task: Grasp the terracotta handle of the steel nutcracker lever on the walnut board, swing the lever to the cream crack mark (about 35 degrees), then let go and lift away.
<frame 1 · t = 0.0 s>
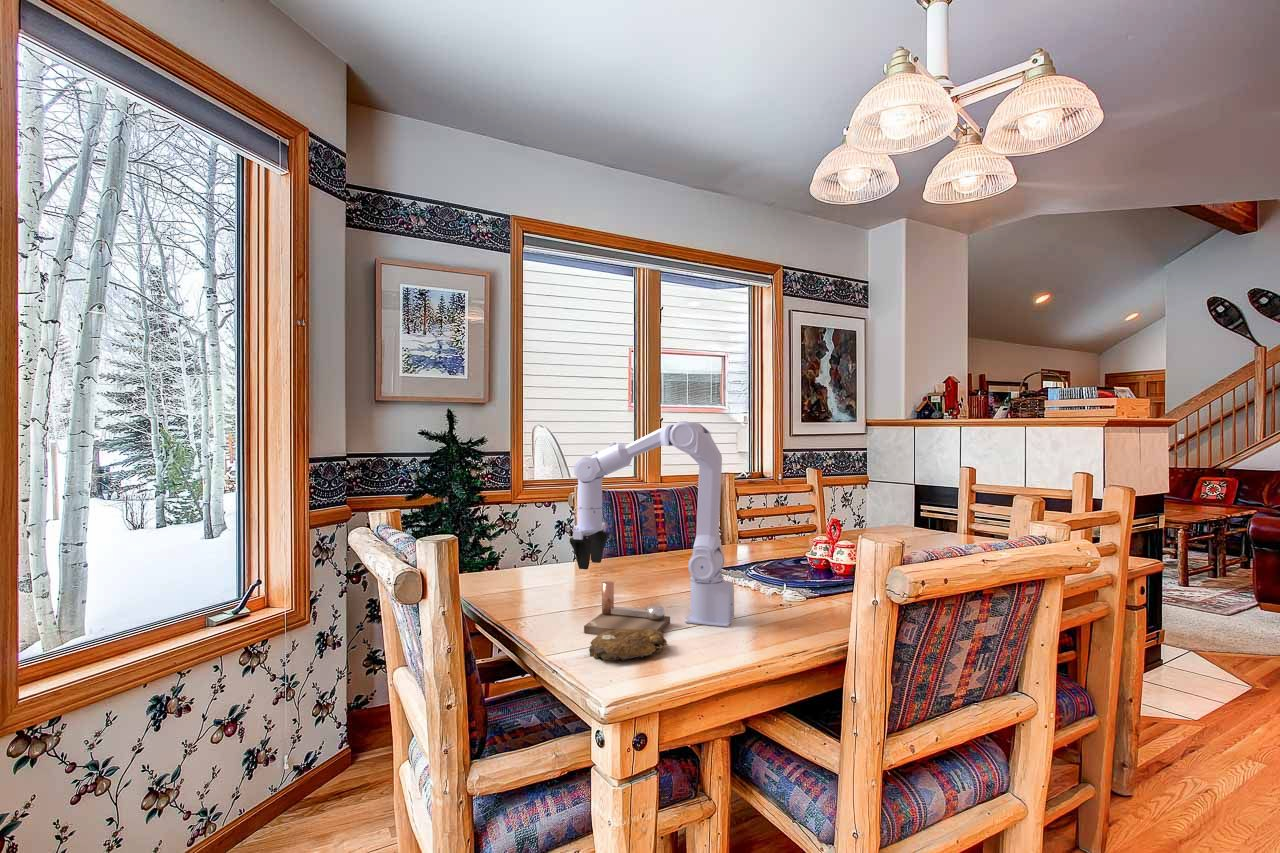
hand: (590, 565, 146), 10 cm above the table, tool pointing down, fingers open, 7 cm apart
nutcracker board: (628, 628, 131), on the table
decorative rock: (628, 654, 117), on the table
lever: (632, 599, 134), point 5 cm above the table, hinge at 0.0°
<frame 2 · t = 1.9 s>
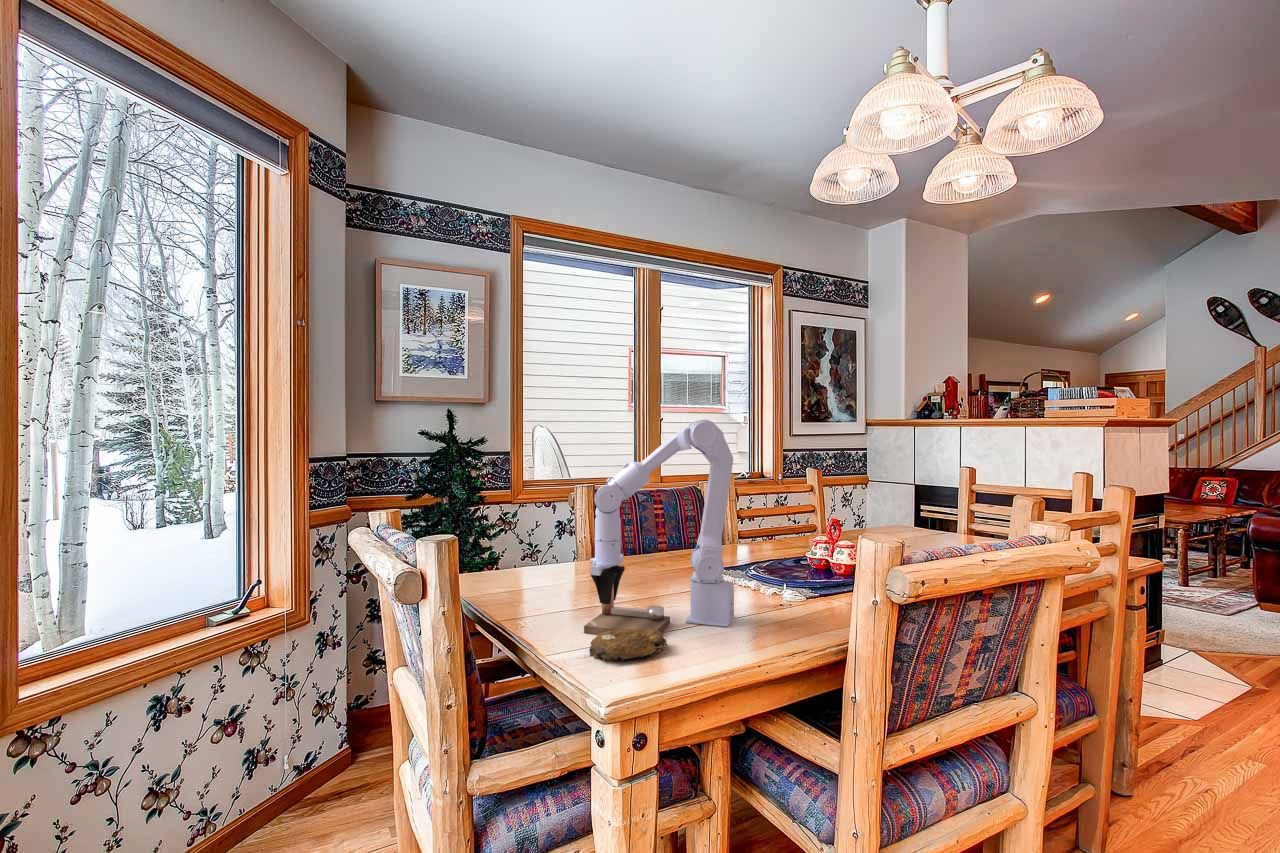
hand: (607, 601, 136), 4 cm above the table, tool pointing down, fingers closed on lever, 3 cm apart
lever: (632, 599, 134), point 5 cm above the table, hinge at 0.0°, touching gripper
everything else where it was.
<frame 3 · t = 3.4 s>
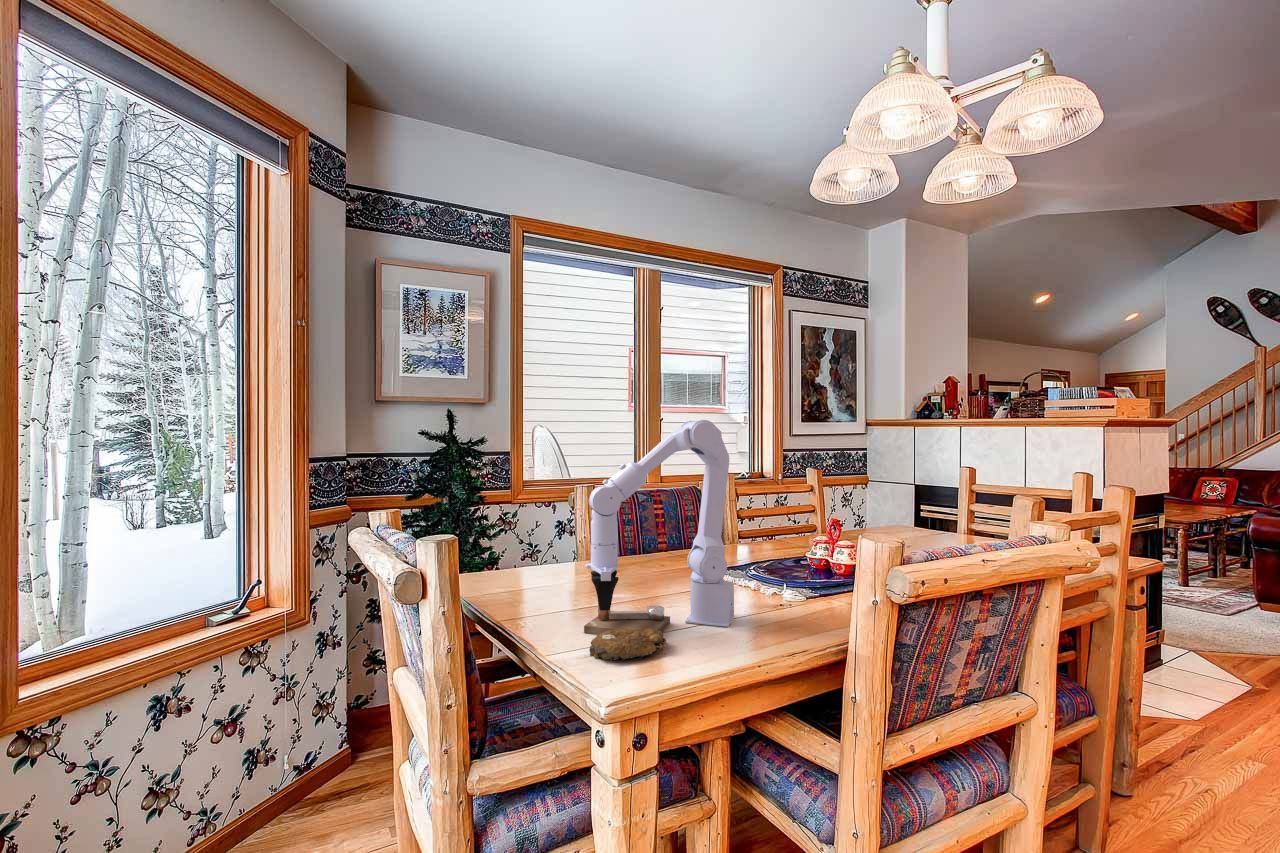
hand: (604, 607, 131), 4 cm above the table, tool pointing down, fingers open, 3 cm apart
lever: (631, 602, 132), point 5 cm above the table, hinge at 22.2°, touching gripper
everything else where it was.
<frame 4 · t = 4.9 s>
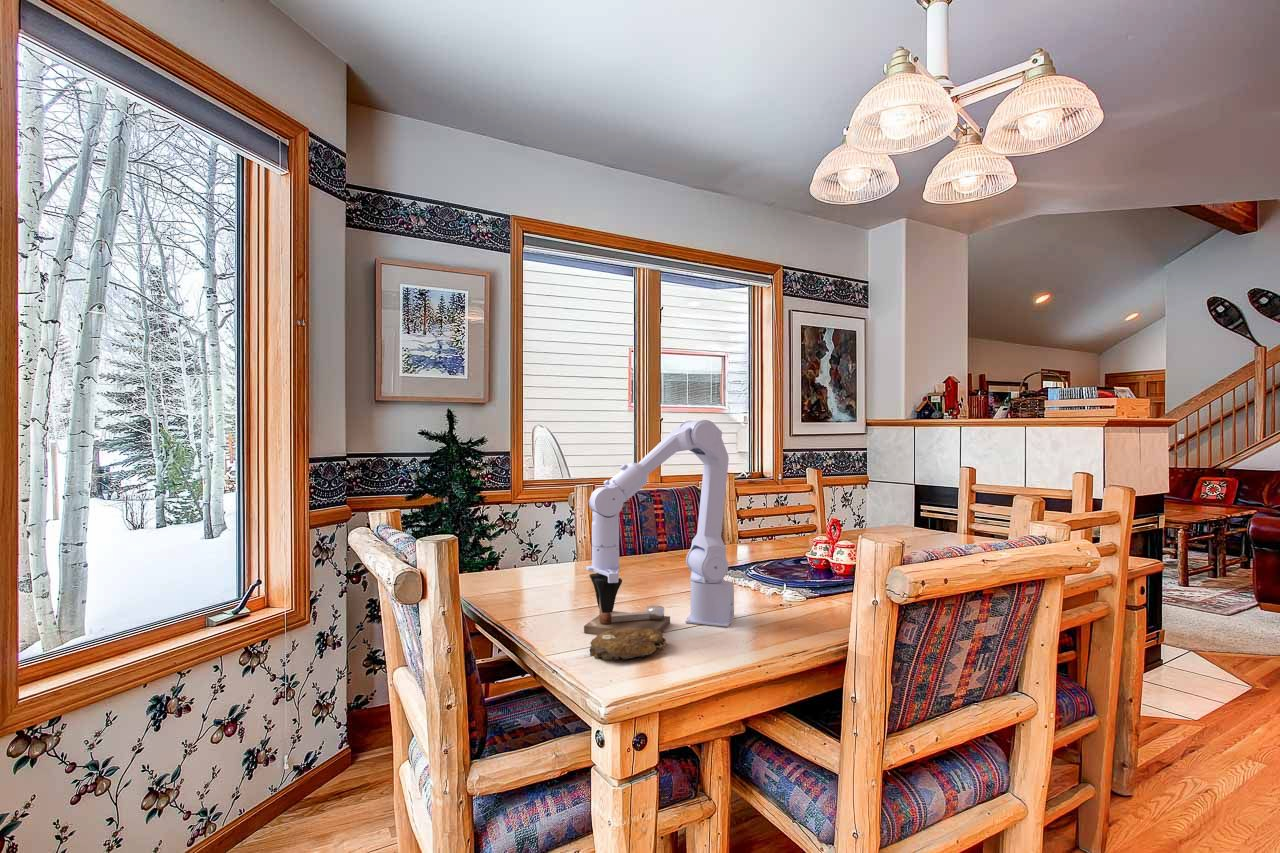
hand: (605, 610, 129), 4 cm above the table, tool pointing down, fingers closed on lever, 3 cm apart
lever: (632, 603, 131), point 5 cm above the table, hinge at 35.2°, touching gripper
everything else where it was.
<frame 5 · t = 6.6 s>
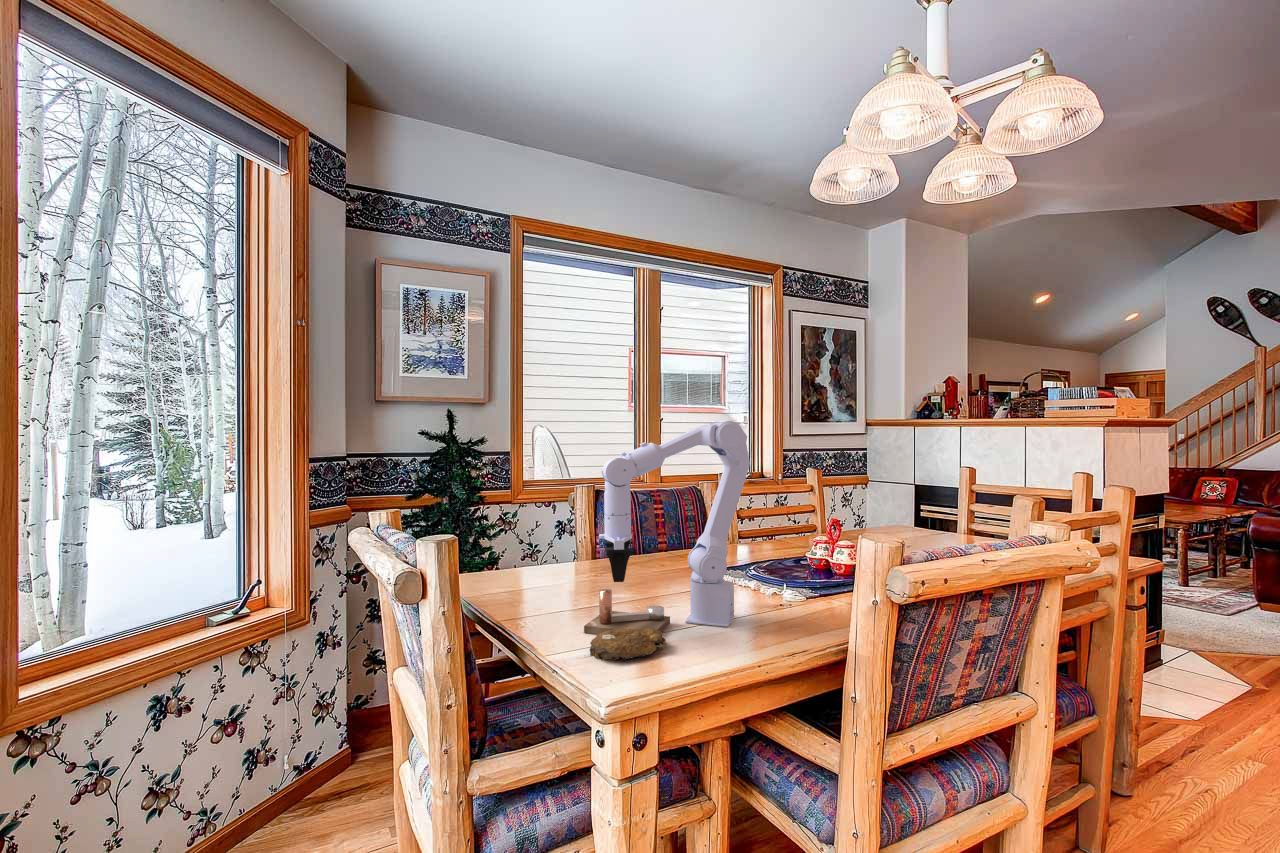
hand: (618, 577, 133), 10 cm above the table, tool pointing down, fingers open, 7 cm apart
lever: (632, 603, 131), point 5 cm above the table, hinge at 35.2°
everything else where it was.
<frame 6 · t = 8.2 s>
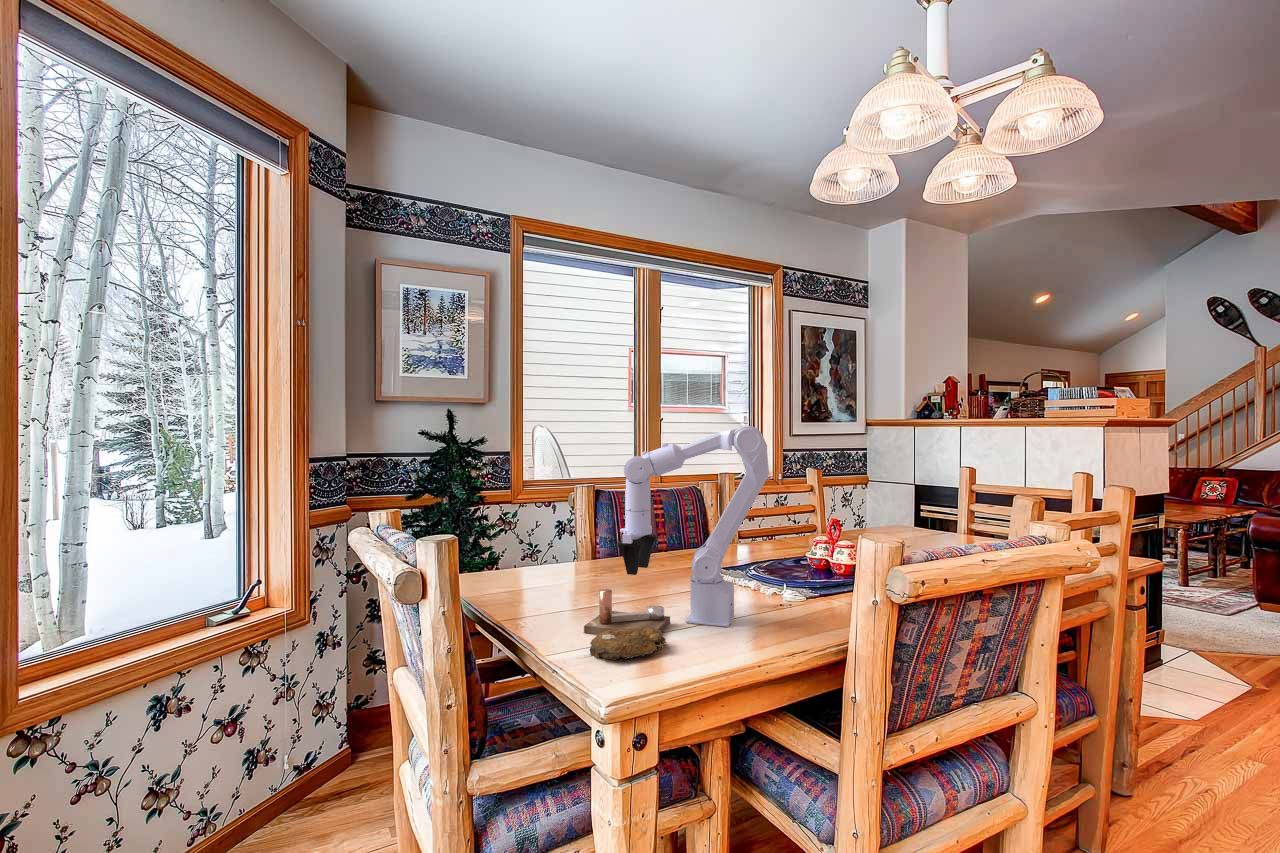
hand: (637, 570, 139), 10 cm above the table, tool pointing down, fingers open, 7 cm apart
nothing on the table moved.
at the end: lever at +35° (first picture: +0°); the gripper is holding nothing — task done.
